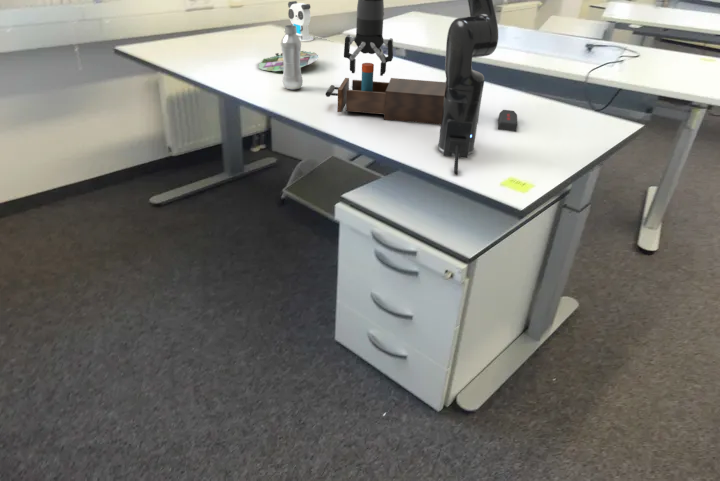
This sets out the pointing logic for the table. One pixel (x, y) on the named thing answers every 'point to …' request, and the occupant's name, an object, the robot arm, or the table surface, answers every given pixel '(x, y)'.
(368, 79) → the glue stick
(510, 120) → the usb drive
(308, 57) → the city model
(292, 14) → the panda figurine
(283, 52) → the plastic bottle
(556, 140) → the table surface
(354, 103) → the drawer
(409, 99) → the cabinet
